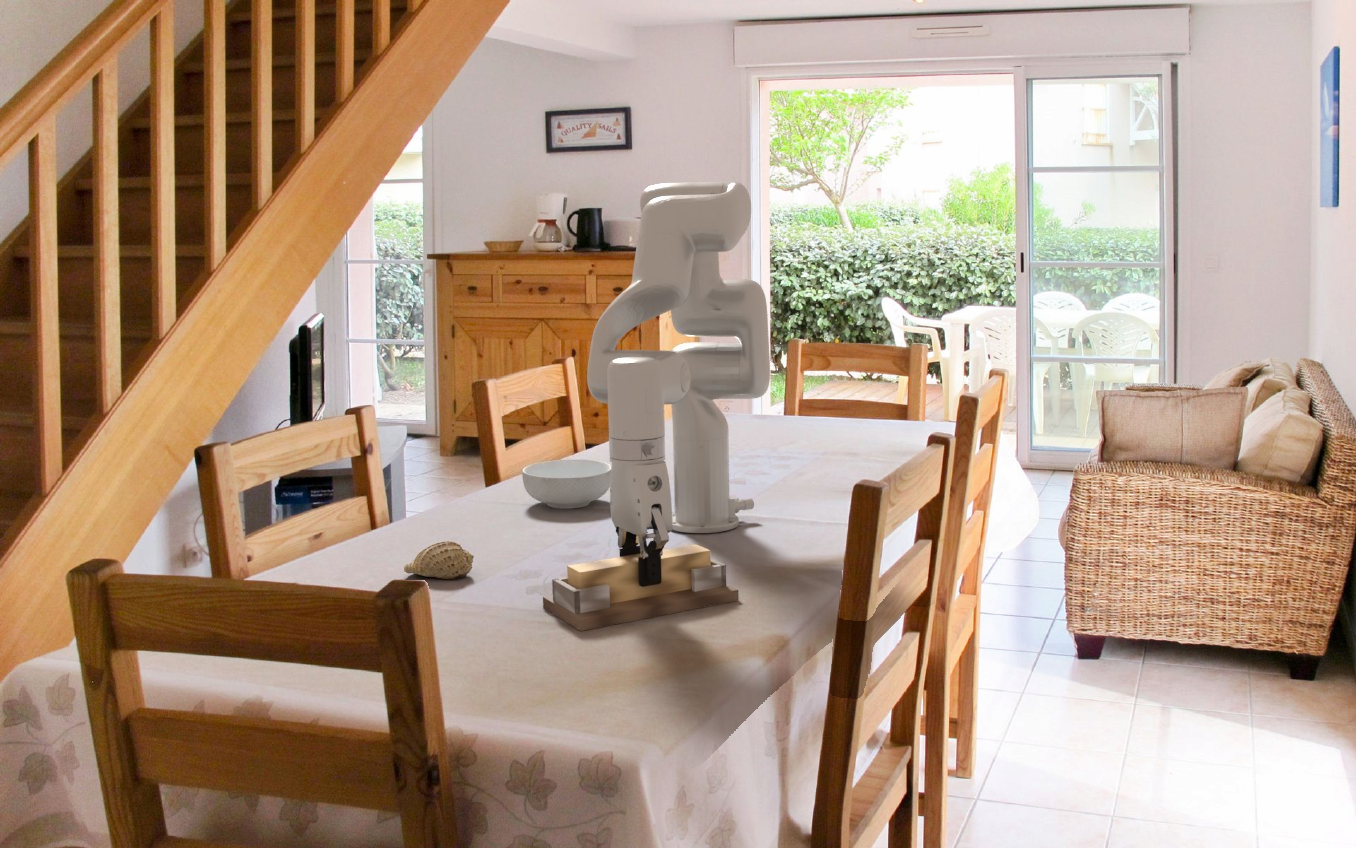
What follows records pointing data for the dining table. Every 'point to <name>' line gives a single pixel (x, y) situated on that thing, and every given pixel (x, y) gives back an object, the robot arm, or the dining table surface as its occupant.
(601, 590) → the endcap base
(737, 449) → the dining table surface
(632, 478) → the robot arm
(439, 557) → the seashell
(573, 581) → the slat
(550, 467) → the cereal bowl
